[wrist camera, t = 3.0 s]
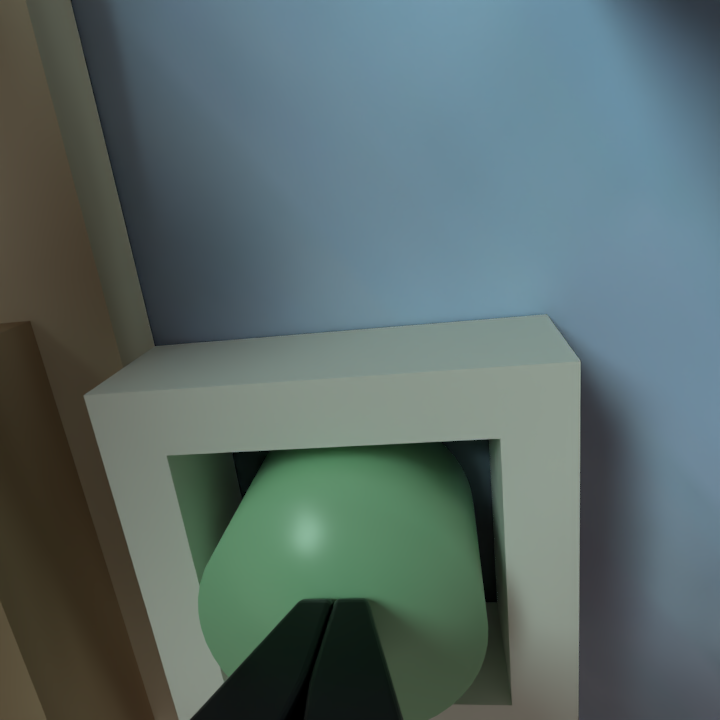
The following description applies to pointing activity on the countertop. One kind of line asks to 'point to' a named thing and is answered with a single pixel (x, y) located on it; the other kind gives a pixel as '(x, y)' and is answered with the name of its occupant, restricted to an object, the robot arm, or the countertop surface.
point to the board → (63, 392)
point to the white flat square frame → (358, 428)
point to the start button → (358, 561)
